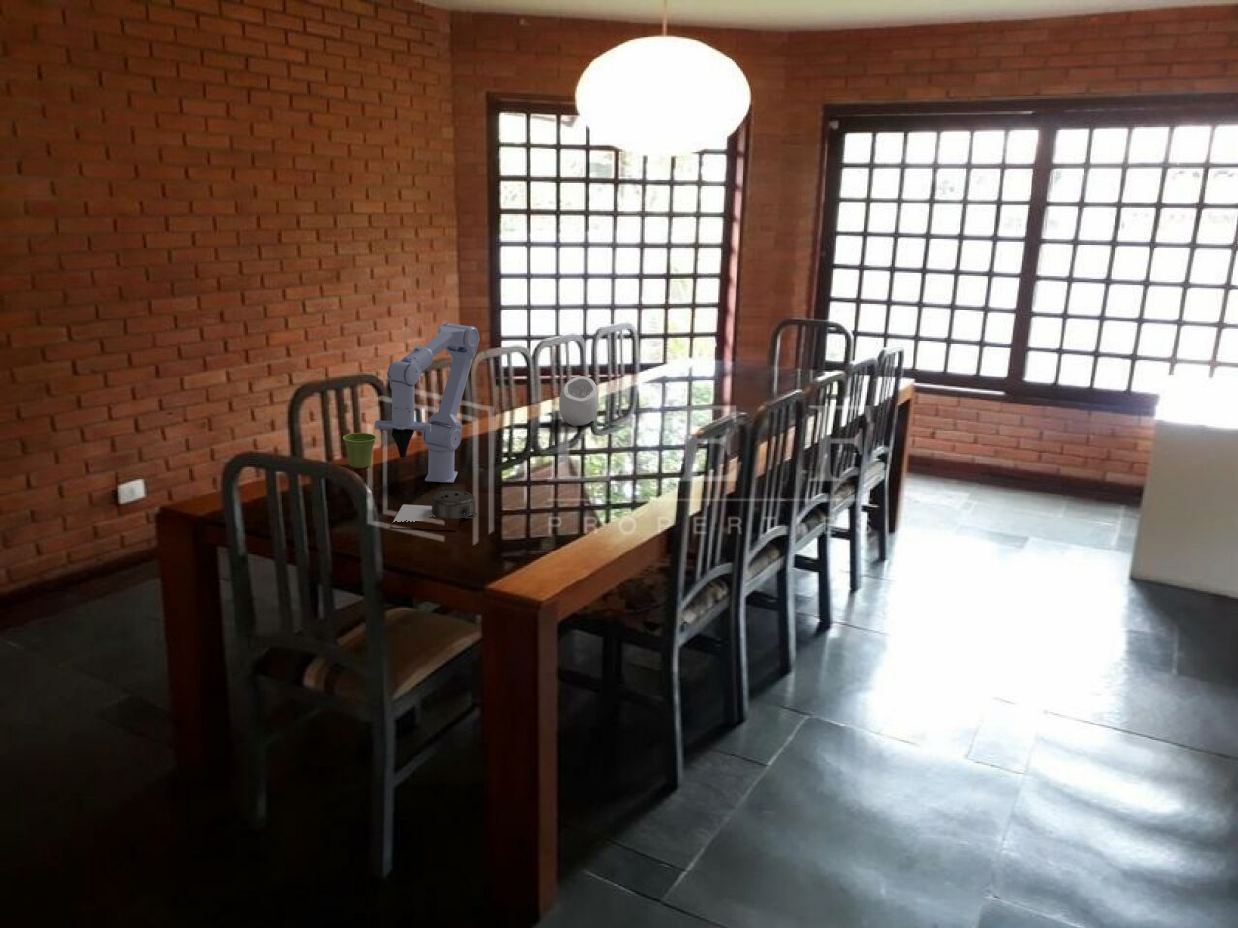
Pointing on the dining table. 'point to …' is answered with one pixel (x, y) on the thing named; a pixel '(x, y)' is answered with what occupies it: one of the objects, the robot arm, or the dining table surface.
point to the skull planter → (579, 401)
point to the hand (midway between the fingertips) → (402, 456)
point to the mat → (414, 513)
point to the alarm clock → (453, 504)
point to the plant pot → (359, 449)
